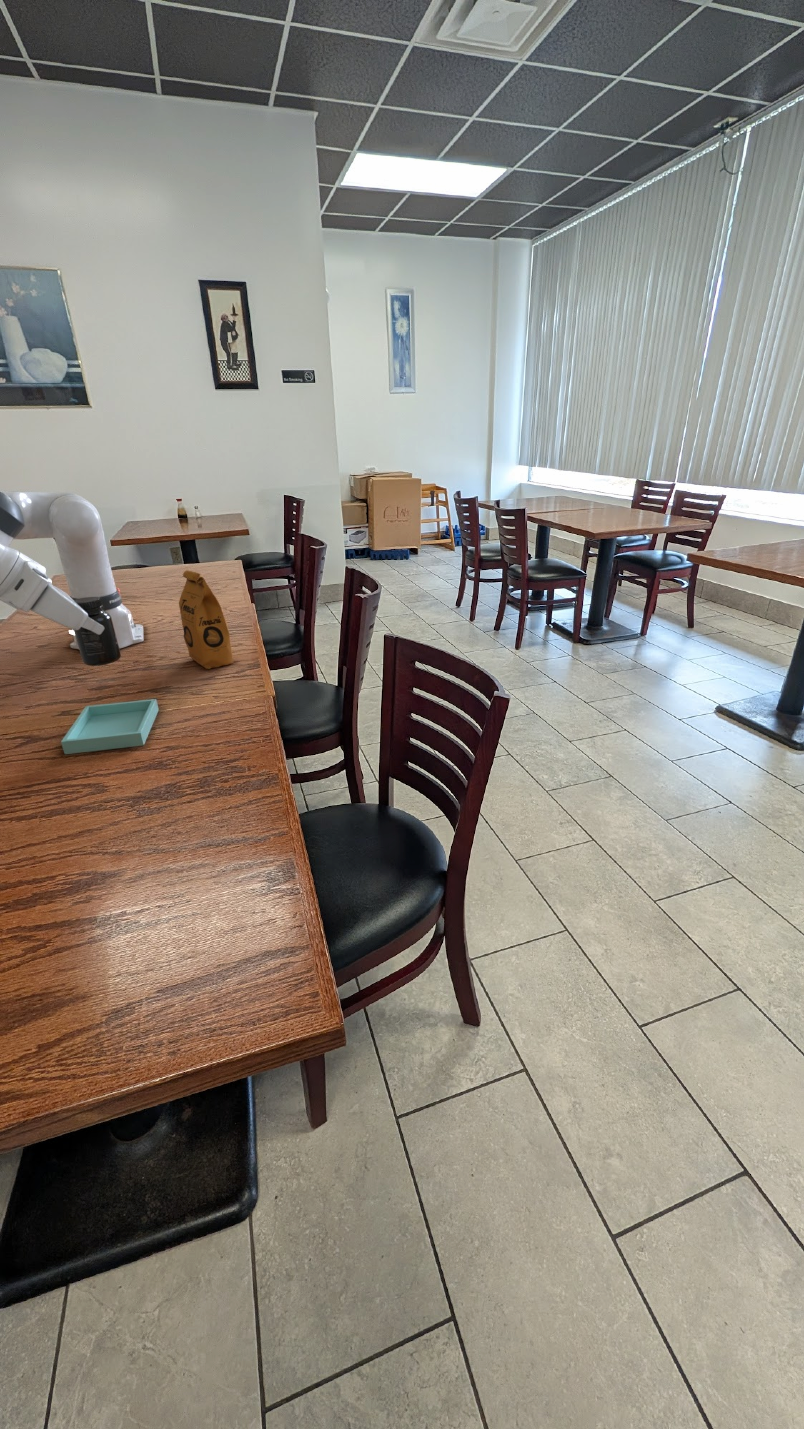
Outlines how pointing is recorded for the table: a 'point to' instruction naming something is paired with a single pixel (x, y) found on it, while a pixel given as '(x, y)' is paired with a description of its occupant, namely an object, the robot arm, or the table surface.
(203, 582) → the coffee package
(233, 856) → the table surface
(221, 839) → the table surface
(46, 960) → the table surface
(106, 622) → the supplement bottle
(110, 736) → the serving tray
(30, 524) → the robot arm
